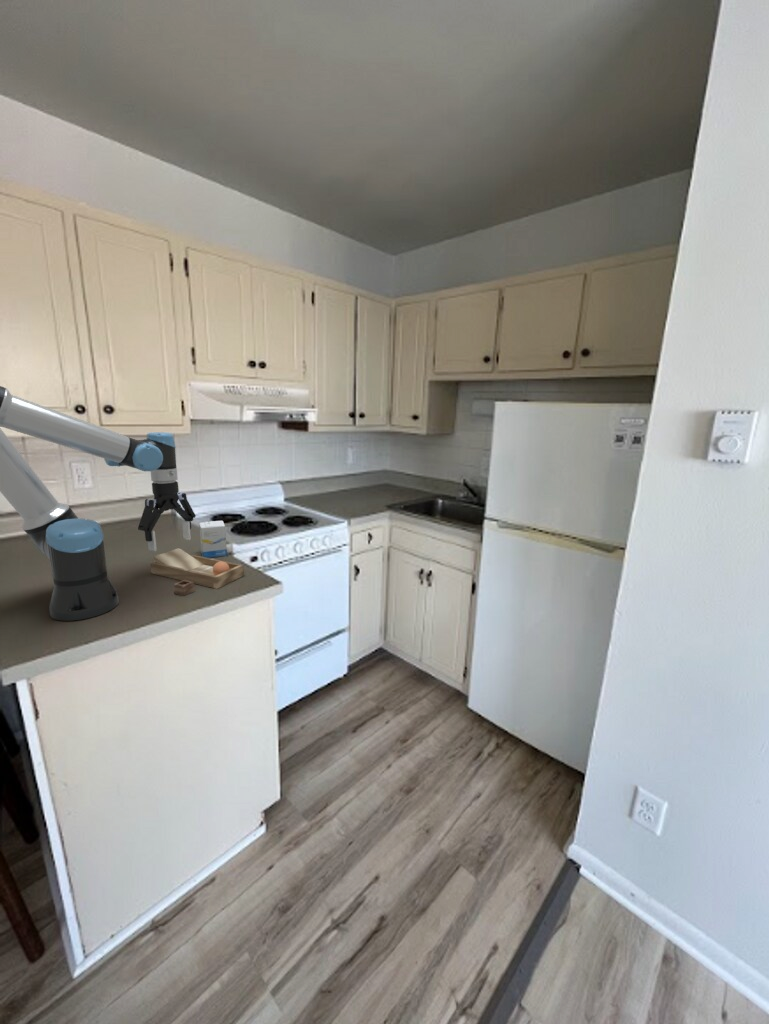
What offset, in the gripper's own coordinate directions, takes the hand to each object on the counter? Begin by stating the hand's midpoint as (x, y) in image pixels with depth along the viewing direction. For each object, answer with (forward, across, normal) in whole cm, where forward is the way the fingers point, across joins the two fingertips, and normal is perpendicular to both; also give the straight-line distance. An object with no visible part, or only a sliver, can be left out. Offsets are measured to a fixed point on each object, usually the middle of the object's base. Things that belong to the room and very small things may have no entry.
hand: (170, 544), depth 142 cm
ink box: (+9, +18, 0) cm, 20 cm away
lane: (+9, 0, -11) cm, 14 cm away
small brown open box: (+8, -12, -18) cm, 24 cm away
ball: (+5, 0, -21) cm, 22 cm away
